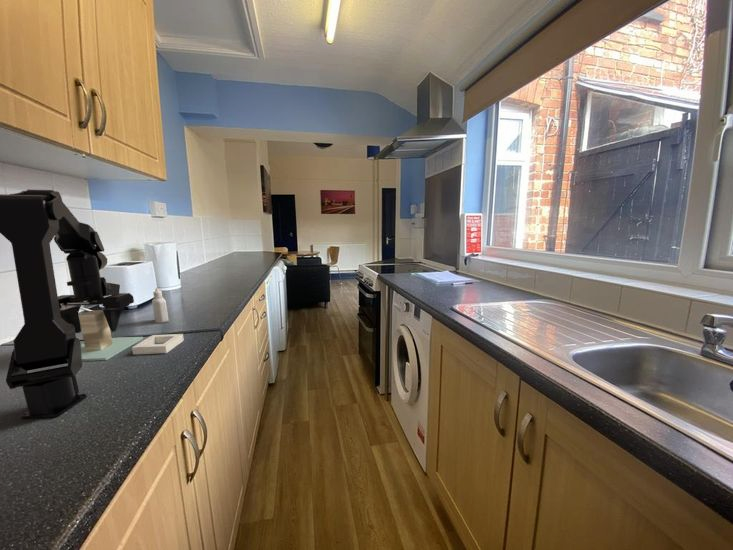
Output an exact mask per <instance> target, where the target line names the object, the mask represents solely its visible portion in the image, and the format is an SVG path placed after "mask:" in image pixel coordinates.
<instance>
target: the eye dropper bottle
mask: <svg viewBox="0 0 733 550" xmlns="http://www.w3.org/2000/svg"><path fill="white" fill-rule="evenodd" d="M151 305H152V311H153V317H154V322H155V323H159V324H164V323H167V322H169V313H168V306H167V301H166V299H165V297H163V292H162V290H160V289H159V287H155V291H153V299H152V300H151Z"/></svg>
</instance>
